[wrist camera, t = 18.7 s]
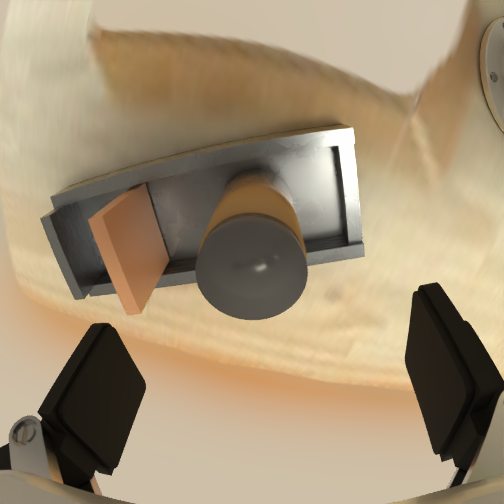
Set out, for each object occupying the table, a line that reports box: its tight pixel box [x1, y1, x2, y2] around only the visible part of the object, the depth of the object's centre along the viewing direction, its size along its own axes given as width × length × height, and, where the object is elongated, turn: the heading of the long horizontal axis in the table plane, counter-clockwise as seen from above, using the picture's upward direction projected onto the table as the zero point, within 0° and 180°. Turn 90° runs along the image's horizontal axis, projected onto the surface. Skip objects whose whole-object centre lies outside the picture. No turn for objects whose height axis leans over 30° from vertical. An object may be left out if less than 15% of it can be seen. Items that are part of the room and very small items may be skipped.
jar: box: [195, 168, 308, 320], centre depth 18 cm, size 5×5×10 cm
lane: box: [40, 124, 365, 300], centre depth 22 cm, size 22×9×5 cm, turn 101°
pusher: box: [88, 183, 169, 315], centre depth 20 cm, size 1×6×7 cm, turn 12°
